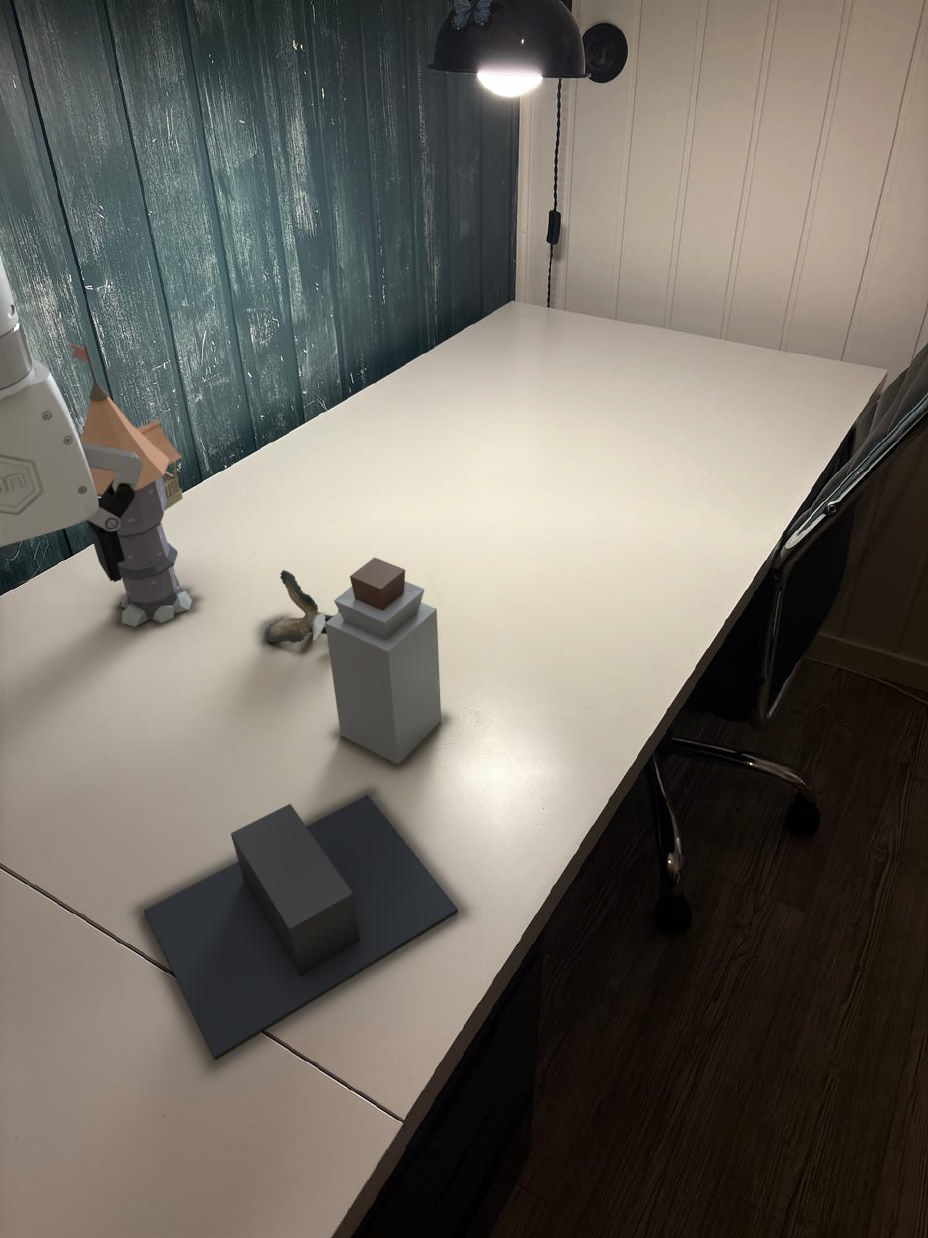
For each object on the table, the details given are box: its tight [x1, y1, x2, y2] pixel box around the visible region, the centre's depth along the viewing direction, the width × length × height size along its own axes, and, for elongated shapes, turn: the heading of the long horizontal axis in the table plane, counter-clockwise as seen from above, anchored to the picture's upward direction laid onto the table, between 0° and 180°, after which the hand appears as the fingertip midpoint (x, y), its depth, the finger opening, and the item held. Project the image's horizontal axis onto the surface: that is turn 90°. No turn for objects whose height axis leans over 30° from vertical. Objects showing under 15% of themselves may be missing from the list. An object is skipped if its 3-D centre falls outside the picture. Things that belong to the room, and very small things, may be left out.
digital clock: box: [230, 803, 360, 976], centre depth 69 cm, size 10×5×6 cm, turn 35°
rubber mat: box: [143, 794, 459, 1060], centre depth 71 cm, size 20×14×1 cm
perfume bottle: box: [325, 557, 442, 766], centre depth 81 cm, size 7×7×18 cm
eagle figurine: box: [264, 569, 339, 644], centre depth 96 cm, size 8×7×9 cm
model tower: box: [68, 342, 193, 628], centre depth 93 cm, size 10×11×30 cm
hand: (41, 594), depth 64 cm, fingers open, 9 cm apart
